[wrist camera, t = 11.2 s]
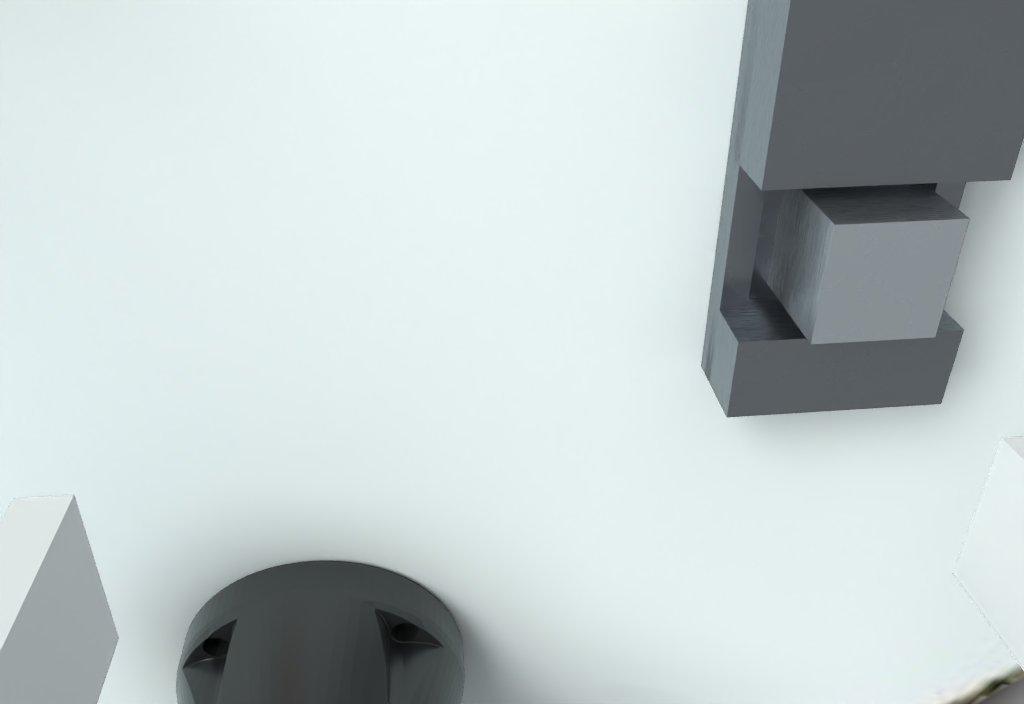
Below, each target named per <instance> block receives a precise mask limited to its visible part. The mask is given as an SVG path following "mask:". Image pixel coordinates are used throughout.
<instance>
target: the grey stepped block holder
mask: <svg viewBox="0 0 1024 704" xmlns="http://www.w3.org/2000/svg"><path fill="white" fill-rule="evenodd" d="M1023 138H1024V0H748V7H747V15H746V22H745V30H744V38H743V46H742V53H741V61H740V69H739V77H738V84H737V92H736V100H735V108H734V115H733V123H732V131H731V139H730V147H729V154H728V162H727V170H726V178H725V185H724V193H723V201H722V209H721V216H720V224H719V232H718V240H717V247H716V255H715V263H714V271H713V278H712V286H711V294H710V302H709V309H708V317H707V325H706V333H705V340H704V348H703V356H702V364H701V366H702V368H703V370H704V372H705V374H706V376H707V378H708V380H709V383H710V385H711V387H712V389H713V391H714V393H715V395H716V397H717V399H718V401H719V403H720V405H721V407H722V409H723V411H724V413H725V415H726V417H739V416H755V415H771V414H787V413H803V412H819V411H835V410H851V409H867V408H883V407H899V406H915V405H931V404H941V402H942V399H943V396H944V392H945V389H946V386H947V383H948V380H949V376H950V373H951V370H952V367H953V363H954V360H955V357H956V354H957V351H958V347H959V344H960V341H961V338H962V334H963V331H964V329H963V328H962V327H961V326H960V325H959V324H958V323H957V322H956V321H955V320H954V319H953V318H952V317H951V316H950V315H948V314H947V313H946V312H945V311H944V310H943V312H942V316H941V319H940V322H939V326H938V329H937V333H936V336H935V337H933V338H915V339H897V340H880V341H862V342H844V343H826V344H810V343H809V341H808V340H807V339H806V337H805V336H804V334H803V333H802V332H801V330H800V329H799V327H798V326H797V325H796V323H795V322H794V320H793V319H792V318H791V316H790V315H789V313H788V312H787V311H786V309H785V308H784V306H783V305H782V304H781V302H780V301H779V299H778V298H777V297H776V295H775V294H774V292H773V291H772V290H771V288H770V287H769V285H768V284H767V282H768V276H769V270H770V264H771V258H772V252H773V246H774V240H775V234H776V228H777V222H778V216H779V210H780V204H781V198H782V192H783V190H785V189H808V188H832V187H855V186H878V185H902V184H926V185H927V186H928V187H930V188H931V189H932V190H933V191H935V192H936V193H937V194H939V195H940V196H941V197H942V198H944V199H945V200H946V201H948V202H949V203H950V204H951V205H953V206H954V207H955V208H957V209H958V208H959V205H960V201H961V198H962V194H963V191H964V187H965V184H966V182H972V181H995V180H1011V176H1012V173H1013V170H1014V167H1015V164H1016V160H1017V157H1018V154H1019V151H1020V147H1021V144H1022V141H1023Z"/></svg>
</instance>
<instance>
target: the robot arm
mask: <svg viewBox="0 0 1024 704" xmlns="http://www.w3.org/2000/svg"><path fill="white" fill-rule="evenodd" d="M952 574H953V576H954V577H955V578H956V580H957V581H958V582H959V584H960V585H961V586H962V588H963V589H964V591H965V592H966V593H967V595H968V596H969V597H970V599H971V600H972V601H973V603H974V604H975V606H976V607H977V608H978V610H979V611H980V612H981V614H982V615H983V616H984V618H985V619H986V620H987V622H988V623H989V625H990V626H991V627H992V629H993V630H994V631H995V633H996V634H997V635H998V637H999V638H1000V639H1001V641H1002V642H1003V644H1004V645H1005V646H1006V648H1007V649H1008V650H1009V652H1010V653H1011V654H1012V656H1013V657H1014V659H1015V660H1016V661H1017V663H1018V664H1019V665H1020V667H1021V668H1022V669H1023V671H1024V436H1019V437H1002V438H1001V441H1000V444H999V447H998V449H997V452H996V455H995V457H994V460H993V463H992V466H991V468H990V471H989V474H988V477H987V479H986V482H985V485H984V488H983V490H982V493H981V496H980V498H979V501H978V504H977V507H976V509H975V512H974V515H973V518H972V520H971V523H970V526H969V529H968V531H967V534H966V537H965V540H964V542H963V545H962V548H961V550H960V553H959V556H958V559H957V561H956V564H955V567H954V570H953V572H952ZM118 639H119V637H118V634H117V631H116V628H115V624H114V621H113V618H112V615H111V612H110V608H109V605H108V602H107V599H106V596H105V592H104V589H103V586H102V583H101V579H100V576H99V573H98V570H97V567H96V563H95V560H94V557H93V554H92V550H91V547H90V544H89V541H88V538H87V534H86V531H85V528H84V525H83V522H82V518H81V515H80V512H79V509H78V505H77V502H76V499H75V496H74V494H73V495H56V496H40V497H24V498H13V500H12V501H11V503H10V505H9V507H8V509H7V510H6V512H5V514H4V516H3V518H2V519H1V521H0V704H97V702H98V699H99V696H100V693H101V690H102V687H103V684H104V681H105V678H106V675H107V672H108V669H109V666H110V663H111V660H112V657H113V654H114V651H115V648H116V645H117V642H118ZM463 688H464V660H463V646H462V639H461V635H460V632H459V629H458V627H457V625H456V622H455V621H454V619H453V617H452V616H451V614H450V613H449V611H448V610H447V609H446V608H445V607H444V605H443V604H442V603H441V602H440V601H439V600H438V599H437V598H436V597H434V596H433V595H432V594H431V593H429V592H428V591H427V590H425V589H424V588H422V587H421V586H419V585H417V584H416V583H414V582H412V581H410V580H408V579H406V578H404V577H402V576H399V575H397V574H395V573H392V572H389V571H386V570H383V569H379V568H376V567H372V566H367V565H363V564H357V563H349V562H339V561H309V562H299V563H292V564H286V565H281V566H276V567H272V568H269V569H265V570H262V571H259V572H256V573H254V574H251V575H249V576H246V577H244V578H242V579H240V580H238V581H236V582H234V583H232V584H231V585H229V586H227V587H226V588H224V589H223V590H221V591H220V592H219V593H217V594H216V595H215V596H213V597H212V598H211V599H210V600H209V601H208V602H207V603H206V604H205V605H204V606H203V607H202V608H201V610H200V611H199V612H198V614H197V615H196V616H195V618H194V620H193V621H192V623H191V625H190V627H189V630H188V633H187V635H186V639H185V643H184V647H183V650H182V654H181V658H180V662H179V666H178V671H177V681H176V693H177V701H178V704H461V700H462V696H463Z"/></svg>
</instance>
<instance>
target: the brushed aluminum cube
mask: <svg viewBox="0 0 1024 704" xmlns="http://www.w3.org/2000/svg"><path fill="white" fill-rule="evenodd" d="M969 220H970V219H969V218H968V217H967V216H966V215H964V214H963V213H962V212H960V211H959V210H958V209H957V208H955V207H954V206H953V205H951V204H950V203H949V202H948V201H946V200H945V199H944V198H942V197H941V196H940V195H939V194H937V193H936V192H935V191H933V190H932V189H931V188H930V187H928V186H927V185H926V184H902V185H878V186H855V187H832V188H808V189H785V190H783V192H782V198H781V204H780V210H779V216H778V222H777V228H776V234H775V240H774V246H773V252H772V258H771V264H770V270H769V276H768V282H767V284H768V285H769V287H770V288H771V290H772V291H773V292H774V294H775V295H776V297H777V298H778V299H779V301H780V302H781V304H782V305H783V306H784V308H785V309H786V311H787V312H788V313H789V315H790V316H791V318H792V319H793V320H794V322H795V323H796V325H797V326H798V327H799V329H800V330H801V332H802V333H803V334H804V336H805V337H806V339H807V340H808V341H809V343H810V344H826V343H844V342H862V341H880V340H897V339H915V338H933V337H935V336H936V333H937V329H938V326H939V322H940V319H941V316H942V312H943V309H944V305H945V302H946V298H947V295H948V292H949V288H950V285H951V281H952V278H953V274H954V271H955V268H956V264H957V261H958V257H959V254H960V250H961V247H962V244H963V240H964V237H965V233H966V230H967V226H968V223H969Z"/></svg>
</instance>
